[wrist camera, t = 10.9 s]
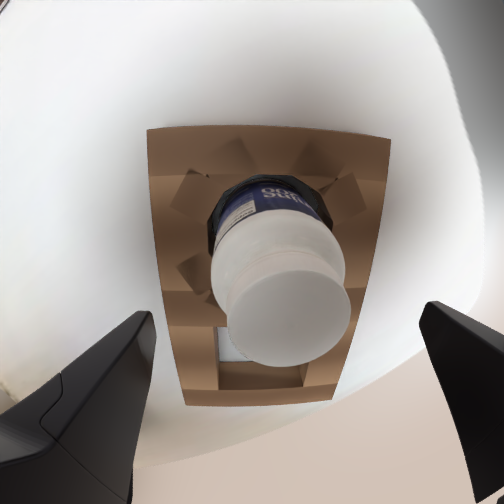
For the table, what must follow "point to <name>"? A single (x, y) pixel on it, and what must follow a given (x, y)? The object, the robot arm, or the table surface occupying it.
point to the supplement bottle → (2, 3)
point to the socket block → (203, 240)
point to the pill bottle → (278, 276)
